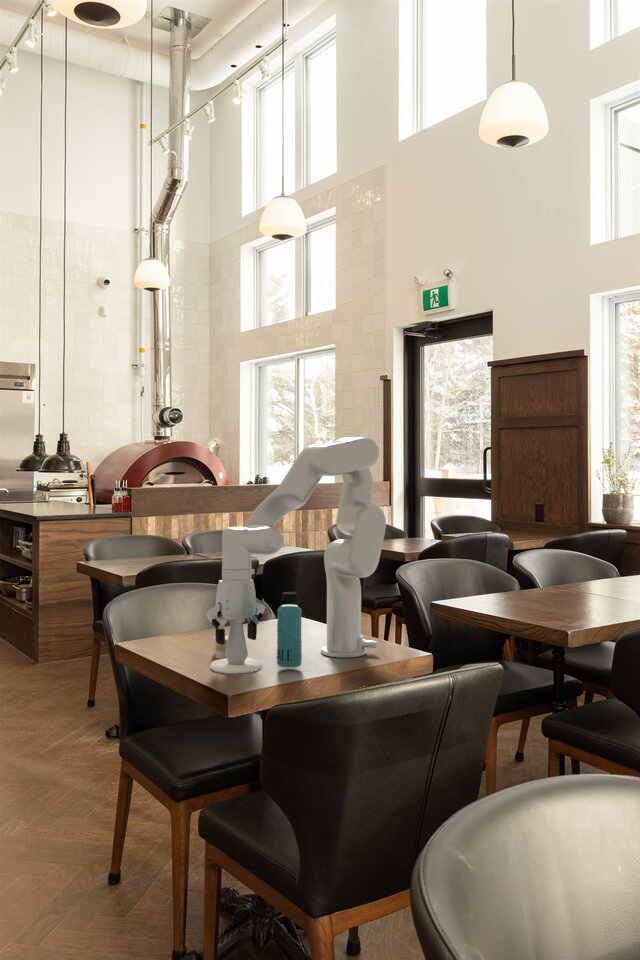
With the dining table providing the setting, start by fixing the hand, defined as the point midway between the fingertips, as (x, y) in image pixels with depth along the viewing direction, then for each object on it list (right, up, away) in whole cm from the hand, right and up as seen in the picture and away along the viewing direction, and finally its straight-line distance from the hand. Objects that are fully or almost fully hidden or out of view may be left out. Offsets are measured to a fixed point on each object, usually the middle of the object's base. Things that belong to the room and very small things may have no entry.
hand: (236, 641), depth 208 cm
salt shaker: (0, -6, 0) cm, 6 cm away
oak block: (-5, -7, +13) cm, 15 cm away
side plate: (0, -7, 0) cm, 7 cm away
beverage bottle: (+14, -7, -3) cm, 16 cm away
